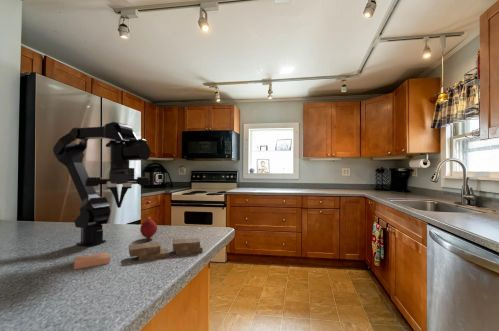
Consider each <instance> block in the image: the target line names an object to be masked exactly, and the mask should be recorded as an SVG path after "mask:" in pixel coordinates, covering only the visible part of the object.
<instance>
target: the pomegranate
mask: <svg viewBox="0 0 499 331" xmlns="http://www.w3.org/2000/svg"><path fill="white" fill-rule="evenodd" d="M139 230H140V234H141V235H142V236H143V237H144V238H145V239H148V240H150V239H151V238H152V237H153V236H154V235H155V234H156V233H157V231H158V226H157V223H156V222H155V221H154V220H153V219H152V217H151V216H148V217H147V219H146V220H144V221H143V222H142V223H141V225H140V228H139Z"/></svg>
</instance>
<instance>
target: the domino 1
mask: <svg viewBox="0 0 499 331" xmlns="http://www.w3.org/2000/svg"><path fill="white" fill-rule="evenodd" d="M161 249H162V248H161V244H160V243H159V242H158V241H152V242H146V243H145V242H144V243H135V244H129V245H128V253H129V257H130V258H132V257H139V256H142V255H149V254H156V253H160V250H161Z"/></svg>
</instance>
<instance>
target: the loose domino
mask: <svg viewBox="0 0 499 331" xmlns="http://www.w3.org/2000/svg"><path fill="white" fill-rule="evenodd" d="M110 258H111V257H110V255H109V252H104V253H102V252H101V253H95V254H91V255H90V254H89V255H83V256H76V257H74V258H73V259H74V260H73V269H74V270H78V269H84V268H90V267H95V266H96V267H97V266H101V265H106V264H110V262H111V261H110V260H111V259H110Z"/></svg>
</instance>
